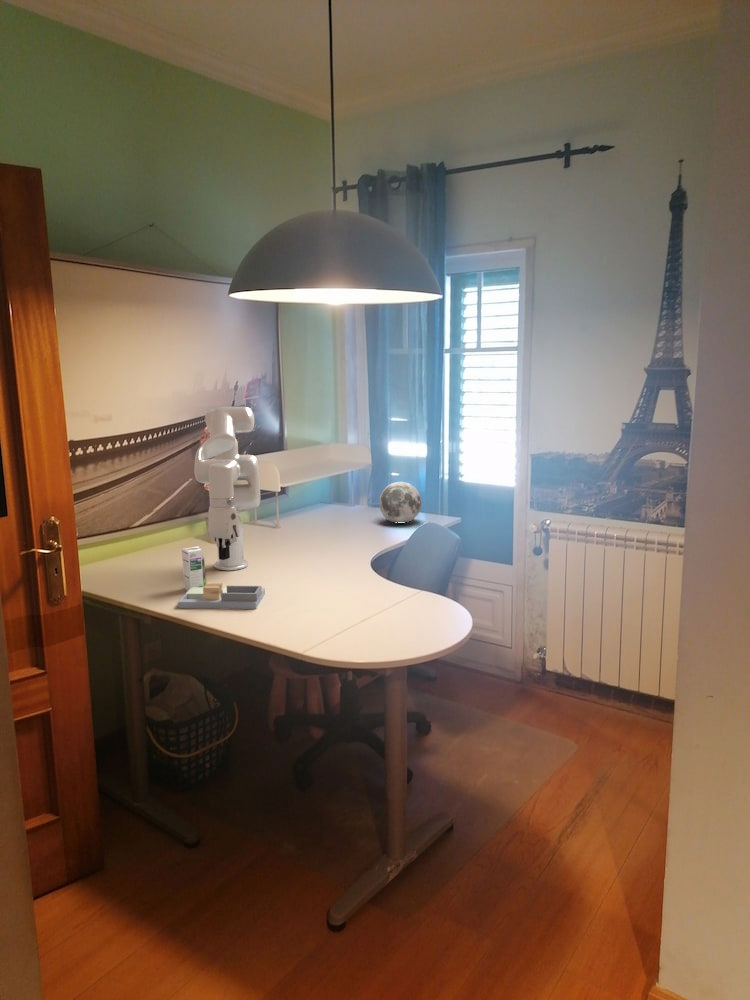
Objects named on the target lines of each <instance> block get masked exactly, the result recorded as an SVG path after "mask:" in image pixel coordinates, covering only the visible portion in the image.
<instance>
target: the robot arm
mask: <svg viewBox="0 0 750 1000" xmlns="http://www.w3.org/2000/svg"><path fill="white" fill-rule="evenodd" d="M204 421H205V425H206V428H207V430H208V432H209V438H207V439H206V440H205V441H204V442H203V443H202V444H201V445H200V446H199V447H198V449H197V450H196V452H195V455H194V457H195V458H194V468H193V469H194V470H193V471H194V477H195V480H196V481H197V482H198V483H201V484H208V497H209V507H208V515H207V530H208V534H209V536H210V539H212V541H215V543H216V546H217V561H215V562H214V566H213V567H214V568H215V569H217V570H221V571H236V570H237V571H238V570H242V569H244V568H246V567H248V565H249V562H248V561H247V560H246V559H244V539H243V537H244V535H243V534H244V533H243V520H242V518H241V516H240V515H239V514H238V510H252V509H253V510H254V509H257V508H259V506H260V504H261V478H260V474H261V473H260V464H259V460H258V458H257V457H256V456H255V455H254V454H239V442H238V440H237V439H236V433H251V432H252V431H253V429H254V428H255V415H254V412H253V410H252V408H250V407H247V406H220V407H216V408H215V409H211V410H208V411H207V412H206V413H205V415H204ZM212 458H214V459H212ZM236 481H246V482H247V483H235V482H236Z"/></svg>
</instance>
